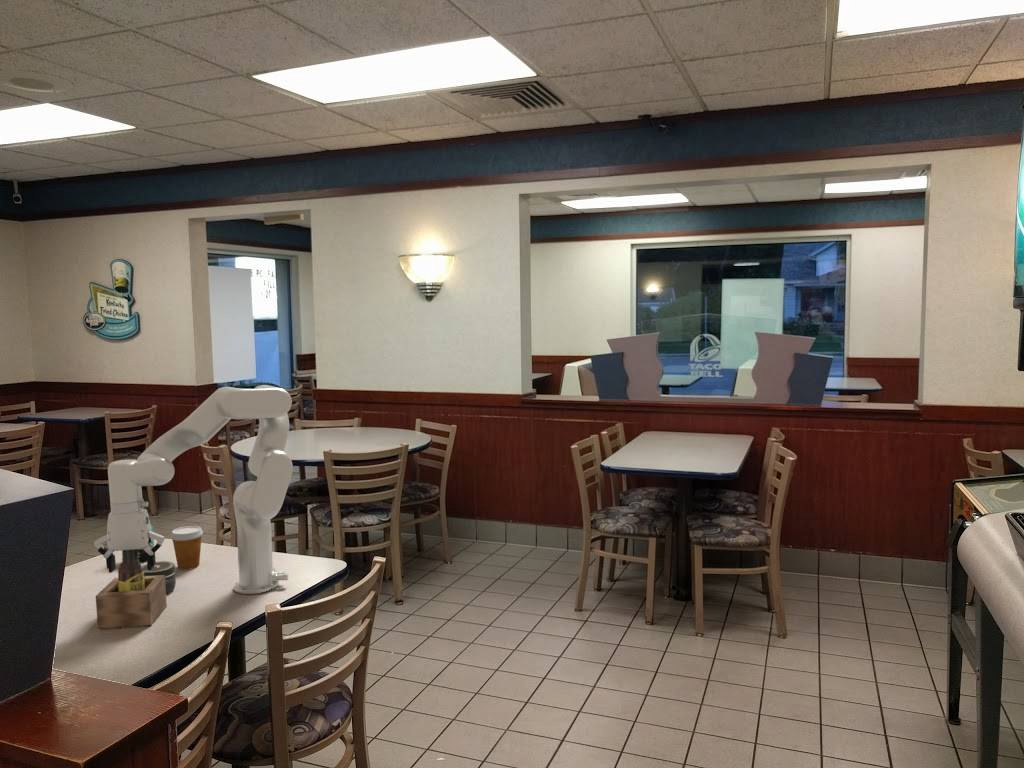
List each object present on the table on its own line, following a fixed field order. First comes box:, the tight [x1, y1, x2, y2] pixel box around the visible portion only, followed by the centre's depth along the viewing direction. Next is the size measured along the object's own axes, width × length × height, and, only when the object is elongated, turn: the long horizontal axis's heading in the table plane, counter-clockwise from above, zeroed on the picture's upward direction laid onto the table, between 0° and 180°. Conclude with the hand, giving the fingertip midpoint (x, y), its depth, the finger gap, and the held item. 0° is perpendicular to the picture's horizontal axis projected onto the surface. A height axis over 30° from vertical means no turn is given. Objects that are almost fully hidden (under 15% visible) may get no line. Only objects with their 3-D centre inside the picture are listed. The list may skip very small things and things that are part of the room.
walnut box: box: [95, 575, 168, 630], centre depth 198 cm, size 13×13×9 cm
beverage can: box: [138, 521, 155, 562], centre depth 245 cm, size 7×7×12 cm
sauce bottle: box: [117, 550, 145, 592], centre depth 198 cm, size 6×6×20 cm
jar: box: [141, 560, 177, 595], centre depth 216 cm, size 10×10×8 cm
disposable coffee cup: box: [170, 525, 204, 570], centre depth 237 cm, size 10×10×12 cm
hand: (131, 569), depth 197 cm, fingers open, 9 cm apart
